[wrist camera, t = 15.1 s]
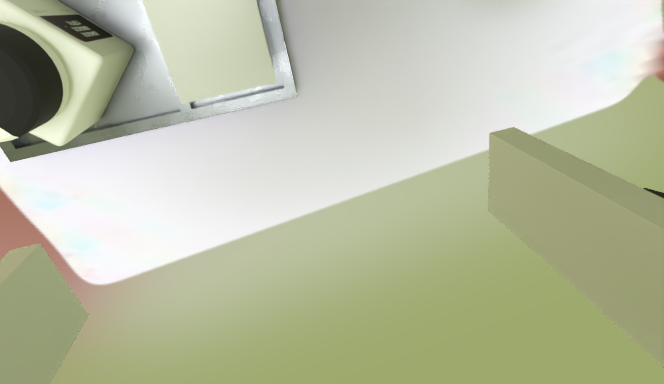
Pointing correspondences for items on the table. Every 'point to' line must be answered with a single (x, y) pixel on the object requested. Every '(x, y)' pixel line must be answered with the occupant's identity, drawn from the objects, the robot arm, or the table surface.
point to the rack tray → (157, 80)
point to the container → (55, 70)
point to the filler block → (211, 46)
